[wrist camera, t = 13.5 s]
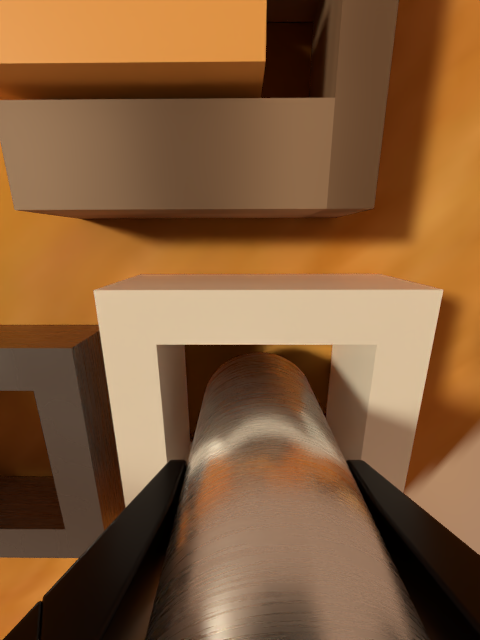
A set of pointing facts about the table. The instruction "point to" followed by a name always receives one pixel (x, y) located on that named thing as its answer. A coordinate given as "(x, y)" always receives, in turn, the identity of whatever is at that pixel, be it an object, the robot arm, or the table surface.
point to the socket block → (61, 443)
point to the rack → (267, 329)
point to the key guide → (219, 137)
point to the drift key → (132, 49)
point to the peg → (274, 524)
